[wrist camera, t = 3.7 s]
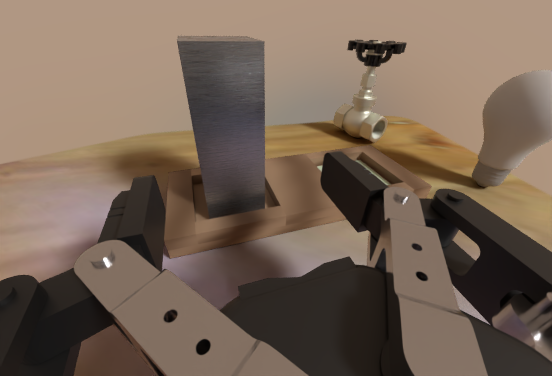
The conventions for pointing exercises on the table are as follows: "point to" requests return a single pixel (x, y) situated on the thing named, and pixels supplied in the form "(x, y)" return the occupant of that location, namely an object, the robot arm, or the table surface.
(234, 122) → the metal block
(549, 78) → the lightbulb
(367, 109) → the valve
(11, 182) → the table surface
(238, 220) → the tray
